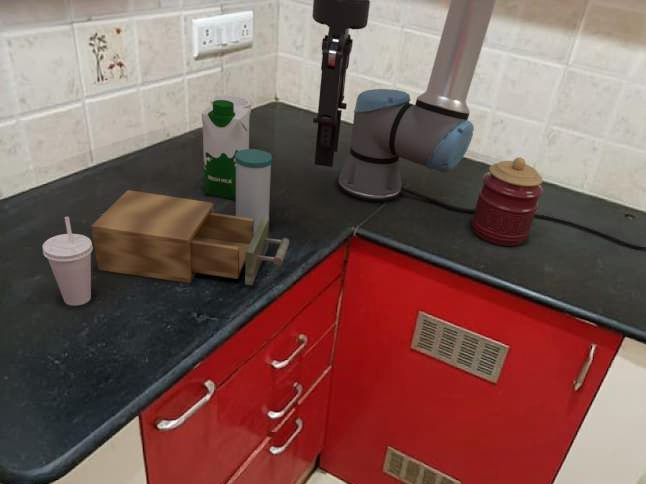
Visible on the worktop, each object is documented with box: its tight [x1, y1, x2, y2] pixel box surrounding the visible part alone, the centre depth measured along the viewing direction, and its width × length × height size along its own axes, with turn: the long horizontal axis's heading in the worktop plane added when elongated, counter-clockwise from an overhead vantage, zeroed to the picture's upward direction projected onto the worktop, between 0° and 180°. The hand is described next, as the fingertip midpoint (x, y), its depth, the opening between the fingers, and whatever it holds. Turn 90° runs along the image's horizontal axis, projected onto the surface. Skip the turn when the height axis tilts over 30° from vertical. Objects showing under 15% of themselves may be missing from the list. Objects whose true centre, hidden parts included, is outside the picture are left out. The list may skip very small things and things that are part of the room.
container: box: [235, 148, 273, 236], centre depth 107 cm, size 7×7×15 cm
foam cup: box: [210, 94, 252, 114], centre depth 137 cm, size 10×9×13 cm
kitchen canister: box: [470, 157, 544, 247], centre depth 120 cm, size 13×13×18 cm
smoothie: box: [42, 216, 94, 307], centre depth 81 cm, size 6×6×14 cm
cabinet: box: [90, 189, 215, 284], centre depth 96 cm, size 15×14×8 cm
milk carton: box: [201, 100, 251, 201], centre depth 117 cm, size 9×9×20 cm
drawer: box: [190, 212, 290, 286], centre depth 96 cm, size 18×13×6 cm
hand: (326, 156), depth 86 cm, fingers open, 6 cm apart
